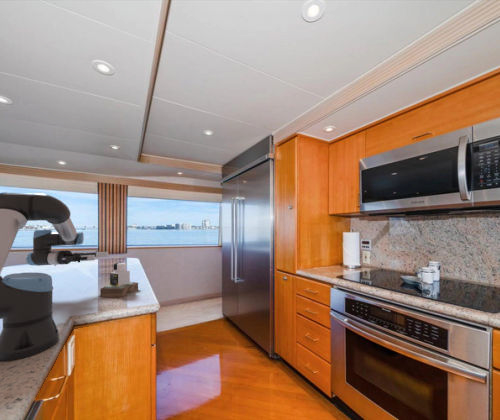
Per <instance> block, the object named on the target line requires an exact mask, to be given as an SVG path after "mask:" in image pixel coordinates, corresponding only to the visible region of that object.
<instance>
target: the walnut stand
mask: <svg viewBox="0 0 500 420" xmlns="http://www.w3.org/2000/svg"><path fill="white" fill-rule="evenodd" d="M138 290H139V283H138V282H136V281H135V282H134V281H130V283H129V284H126V285H123V286H119V287H117V286H111V285H110V284H108V285H105V286H103V287H101V288H100V297H109V298H111V297H112V298H123V297H125V295H126V296H127V295H129V294H131V293H134V292H136V291H138Z"/></svg>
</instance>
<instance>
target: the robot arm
mask: <svg viewBox="0 0 500 420" xmlns="http://www.w3.org/2000/svg"><path fill="white" fill-rule="evenodd" d="M29 221H30V222H31V221H33V222H35V221H46V222H47V223H49V224H51V225H52V226H53V228H54V229H55V232H53V231H52V229H49V228H48V229H35V230H34V231H33V236H32V242H33V243H32V248H33V249H32V251H31V252H29V253H27V256H26V258H25V259H26V263H27V264H28V265H29V266H39V267H41V266H53V265H54V267H56V266H57V265H58V266H59V265H70V263H71V262H72V263H74V262H75V263H76V262H77V263H81V262H88V261H89V262H90V261H95V260H96V258H101V257H102V258H107V257H109V251H101V252H100V251H97V250H95V251H94V252H72V251H71V250H52V247H59V246H60V247H62V246H63V247H64V246H79V245H82V244H84V238H85V237H84V232H83V231H77V230H76V228H75V225H74V222H73V221H72V219H71V211H70V209H69V207H68V206H67V205H66V203H64V202H63V201H62V200H60V199H58V198H56V197H55V196H52V195H50V194H45V193H38V192H37V193H30V192H29V193H27V192H25V193H24V192H7V191H6V192H0V320H2V329H1V332H0V362H6V361H15V360H19V359H20V360H21V359H24V358H28V357H30V356H33V355H37V354H40V353H41V352H43V351H45V350H47V349H49V348H51V347H53V346H54V345H56V344H57V343H58V341H59V339H60V332H59V330H58V328H57V325H56V323H55V320H54V318H53V294H54V293H53V292H54V291H53V290H54V286H53V279H52V276H51V275H50V274H48V273H46V272H45V273H44V272H20V273H18V272H17V273H10V274H6V275H5V276H2V275H1V273H2V271H3V269H4V267H5V264H6V262H7V259H8V257H9V254H10V252H11V250H12V246H13V245H14V242H15V239H16V237H17V234H18V232H19V230H21V229H22V228H24V227H25V226H26V225H27V224H28V222H29Z"/></svg>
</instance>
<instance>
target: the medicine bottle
mask: <svg viewBox="0 0 500 420" xmlns="http://www.w3.org/2000/svg"><path fill="white" fill-rule="evenodd" d="M130 273H131V272H130V270H127V263H126V262H124V261H123V262H121V261H119V262H115V263H114V264H113V271H110V273H109V285H111V286H117V287H119V286H123V285H126V284H129V283H130V282H131V279H130V278H131V275H130Z"/></svg>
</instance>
